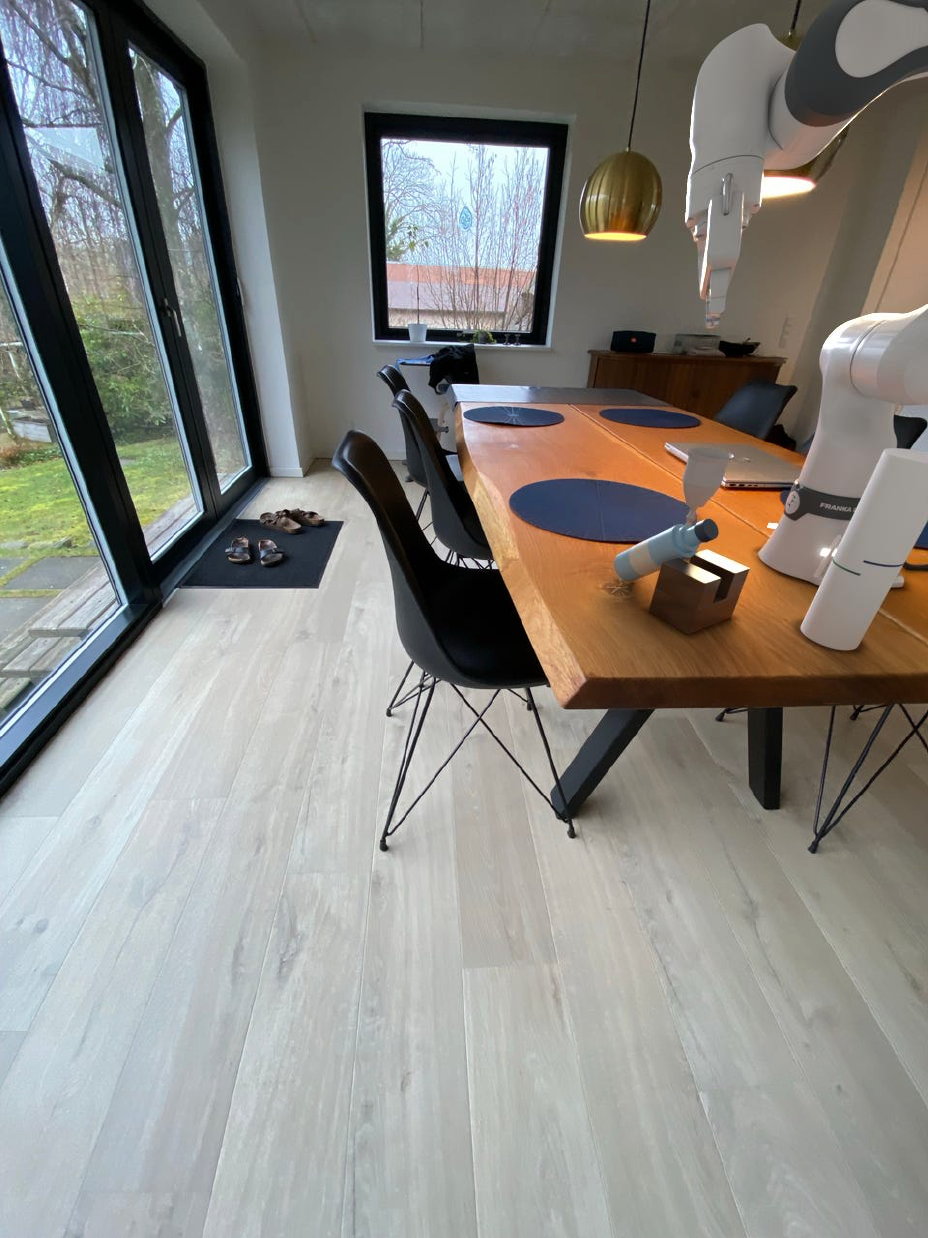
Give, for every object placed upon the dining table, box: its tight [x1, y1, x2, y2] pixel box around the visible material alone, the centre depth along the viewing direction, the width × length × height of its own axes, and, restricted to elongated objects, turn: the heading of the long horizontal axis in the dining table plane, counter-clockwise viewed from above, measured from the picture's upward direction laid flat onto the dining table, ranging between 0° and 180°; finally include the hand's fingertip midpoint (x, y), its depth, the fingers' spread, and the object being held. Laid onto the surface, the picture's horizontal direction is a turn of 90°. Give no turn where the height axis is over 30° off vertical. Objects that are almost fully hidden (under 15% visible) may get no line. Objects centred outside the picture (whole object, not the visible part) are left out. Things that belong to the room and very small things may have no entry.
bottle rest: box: [648, 549, 751, 635], centre depth 74 cm, size 7×10×8 cm
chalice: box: [681, 446, 734, 559], centre depth 91 cm, size 7×7×18 cm
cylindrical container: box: [800, 447, 928, 651], centre depth 67 cm, size 7×7×25 cm
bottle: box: [613, 517, 720, 583], centre depth 78 cm, size 14×5×14 cm, turn 32°
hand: (714, 321), depth 72 cm, fingers open, 8 cm apart
